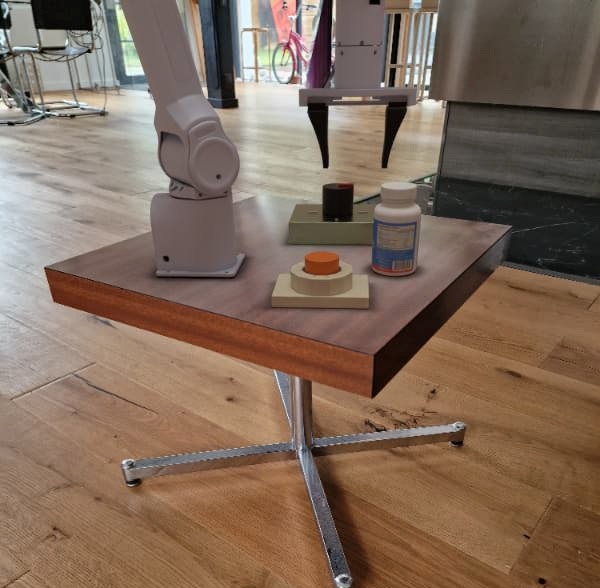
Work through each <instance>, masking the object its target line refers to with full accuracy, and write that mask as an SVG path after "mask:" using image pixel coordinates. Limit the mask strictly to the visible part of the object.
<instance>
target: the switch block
mask: <svg viewBox="0 0 600 588" xmlns="http://www.w3.org/2000/svg"><path fill="white" fill-rule="evenodd" d="M353 267H354V266H352V265H351V264H349V263H347V262H346V261H341V260H339V272H338V273H336V274H332V275H311V274H307V273H305V260H303V261H300V262H298V263H296V264H295V263H294V265H292V266H291V268H290V273H279V274H278V277H277V279H276V282H275V284H274V287H273V291H272V293H271V307H272V308H313V309H315V308H317V309H370V286H369V274H353V269H354V268H353Z"/></svg>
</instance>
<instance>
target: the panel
mask: <svg viewBox="0 0 600 588" xmlns="http://www.w3.org/2000/svg"><path fill="white" fill-rule="evenodd" d="M378 204H379V203H353V213H352V214H349V215H344V216H331V215H326V214H323V213H322V203H296V204H295V206H294V208H293V210H292V213H291V216H290V218H289V221H288V244H289V245H356V246H357V245H358V246H359V245H360V246H361V245H362V246H363V245H364V246H365V245H366V246H367V245H371V246H372V244H373V221H374V209H375V207H376V206H377V205H378Z"/></svg>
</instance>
